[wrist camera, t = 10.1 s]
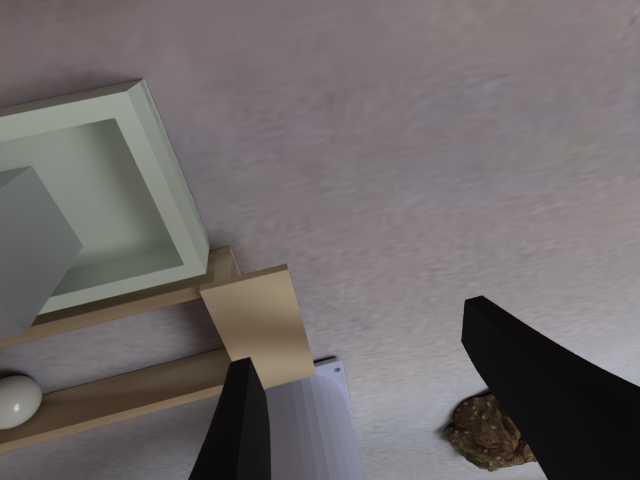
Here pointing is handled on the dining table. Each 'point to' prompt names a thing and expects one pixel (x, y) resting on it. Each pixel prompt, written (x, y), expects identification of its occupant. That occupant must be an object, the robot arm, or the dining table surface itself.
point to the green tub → (109, 189)
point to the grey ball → (18, 400)
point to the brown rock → (487, 435)
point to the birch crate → (184, 374)
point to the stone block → (30, 249)
